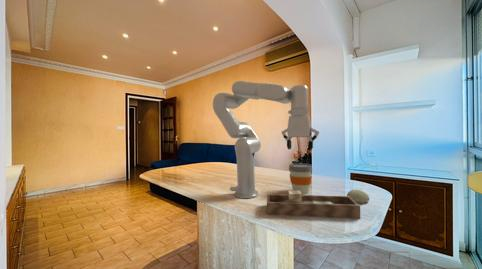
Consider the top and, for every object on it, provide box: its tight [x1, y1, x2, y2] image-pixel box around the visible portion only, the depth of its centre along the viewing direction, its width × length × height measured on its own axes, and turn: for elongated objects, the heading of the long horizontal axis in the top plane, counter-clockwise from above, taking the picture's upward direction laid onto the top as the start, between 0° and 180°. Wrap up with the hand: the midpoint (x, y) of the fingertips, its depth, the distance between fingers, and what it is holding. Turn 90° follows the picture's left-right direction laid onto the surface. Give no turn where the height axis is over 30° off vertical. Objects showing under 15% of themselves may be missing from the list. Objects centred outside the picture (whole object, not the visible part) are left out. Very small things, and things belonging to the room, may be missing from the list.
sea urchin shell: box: [346, 189, 370, 204], centre depth 96 cm, size 9×8×8 cm
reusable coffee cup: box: [288, 162, 313, 195], centre depth 112 cm, size 13×13×15 cm
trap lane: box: [266, 193, 361, 219], centre depth 85 cm, size 36×11×5 cm, turn 81°
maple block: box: [288, 189, 303, 203], centre depth 86 cm, size 5×5×5 cm
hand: (299, 149), depth 92 cm, fingers open, 9 cm apart
